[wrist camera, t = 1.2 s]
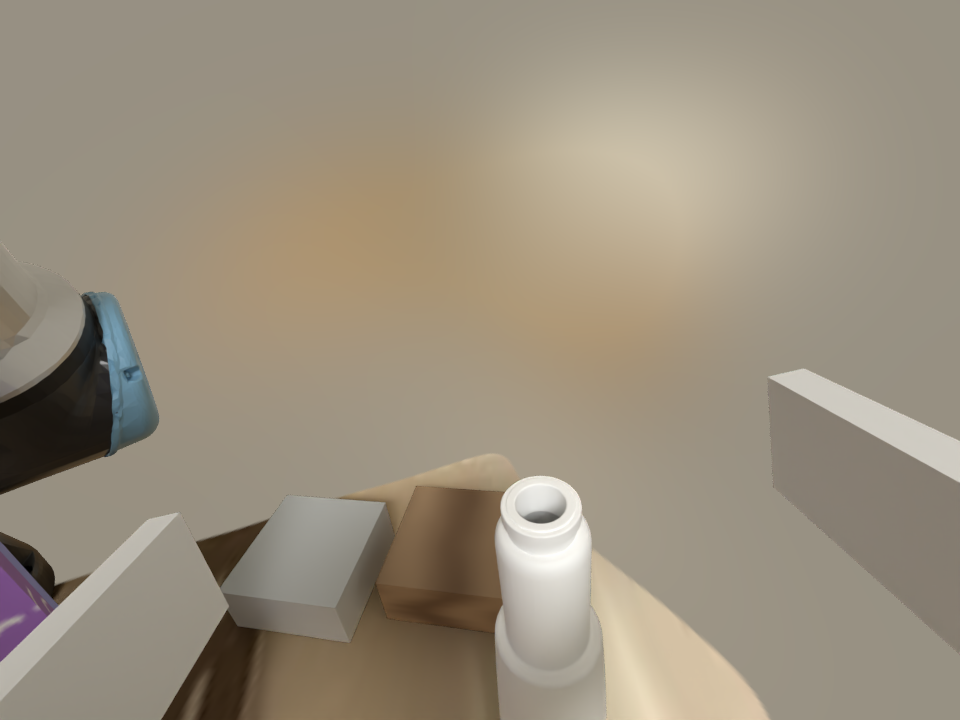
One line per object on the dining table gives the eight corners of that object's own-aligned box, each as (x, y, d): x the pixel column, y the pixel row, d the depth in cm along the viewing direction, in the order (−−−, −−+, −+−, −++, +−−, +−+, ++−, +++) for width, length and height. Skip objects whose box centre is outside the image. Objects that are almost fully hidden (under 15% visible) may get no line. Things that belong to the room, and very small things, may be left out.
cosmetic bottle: (476, 849, 23) (384, 549, 12) (527, 719, 27) (493, 416, 16) (599, 941, 20) (625, 657, 9) (633, 779, 24) (677, 460, 14)
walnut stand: (387, 618, 33) (375, 583, 31) (424, 519, 41) (416, 486, 39) (511, 635, 31) (507, 599, 29) (526, 527, 39) (523, 493, 37)
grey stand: (237, 625, 34) (216, 592, 32) (300, 527, 42) (287, 494, 40) (350, 642, 32) (335, 608, 30) (395, 536, 40) (385, 502, 38)
